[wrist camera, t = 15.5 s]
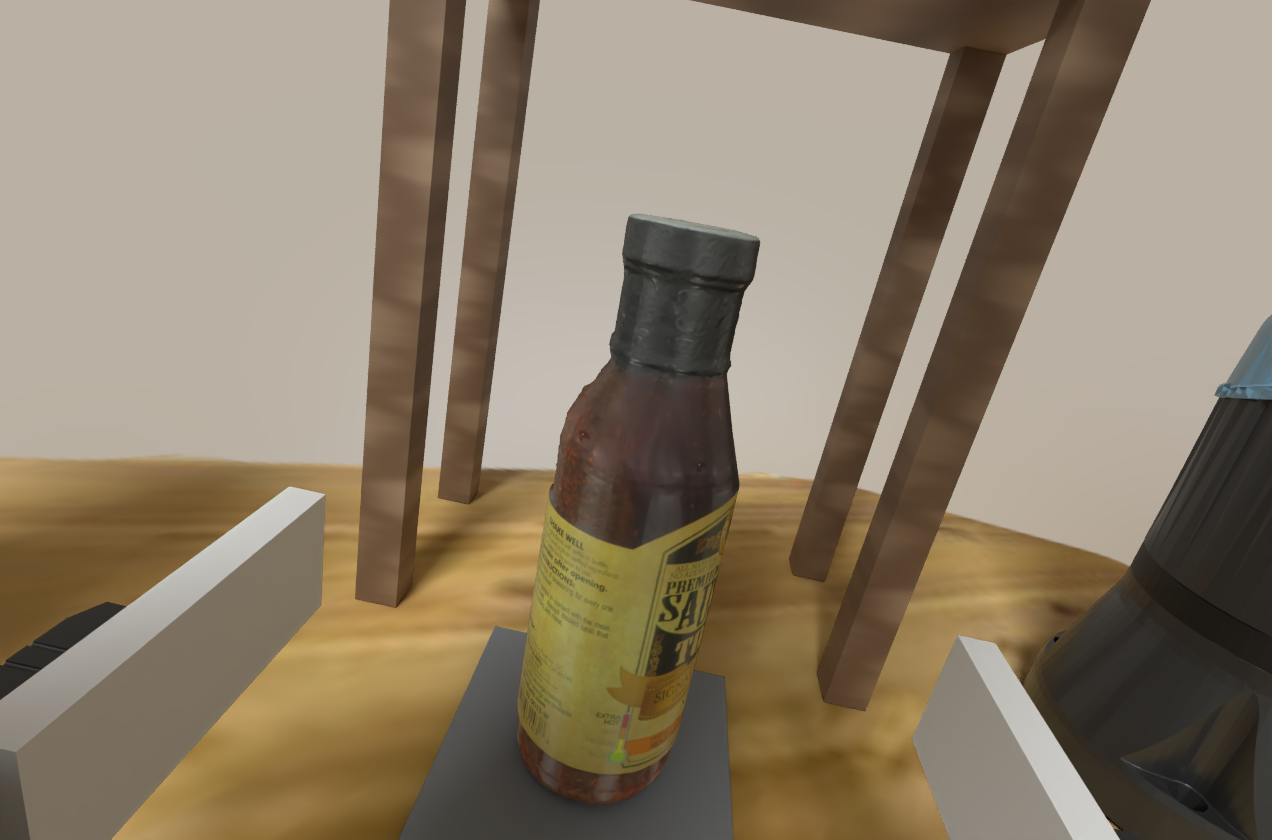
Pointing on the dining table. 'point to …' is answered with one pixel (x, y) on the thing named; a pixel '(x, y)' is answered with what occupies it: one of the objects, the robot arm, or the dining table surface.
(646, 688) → the sauce bottle
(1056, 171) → the walnut table
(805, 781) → the dining table surface
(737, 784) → the dining table surface
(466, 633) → the dining table surface
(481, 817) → the charcoal mat
